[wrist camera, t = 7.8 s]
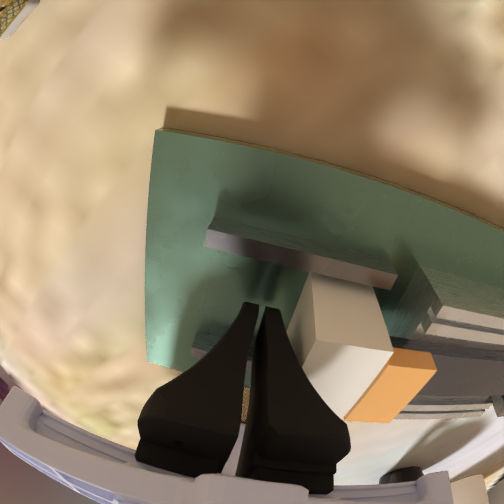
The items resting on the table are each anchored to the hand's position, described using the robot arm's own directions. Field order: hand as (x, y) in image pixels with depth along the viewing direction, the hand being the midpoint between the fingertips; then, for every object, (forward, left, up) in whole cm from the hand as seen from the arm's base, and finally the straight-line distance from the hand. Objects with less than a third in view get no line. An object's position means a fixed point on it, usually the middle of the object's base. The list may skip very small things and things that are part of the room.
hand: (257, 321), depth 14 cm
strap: (0, -13, +1) cm, 13 cm away
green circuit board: (0, -8, -2) cm, 8 cm away
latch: (0, -4, -1) cm, 5 cm away
